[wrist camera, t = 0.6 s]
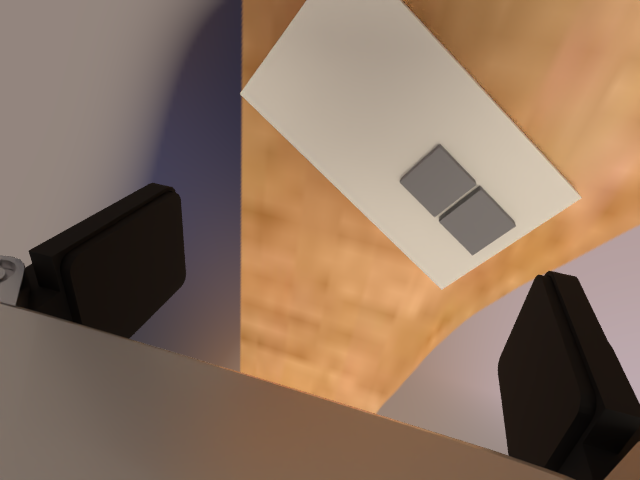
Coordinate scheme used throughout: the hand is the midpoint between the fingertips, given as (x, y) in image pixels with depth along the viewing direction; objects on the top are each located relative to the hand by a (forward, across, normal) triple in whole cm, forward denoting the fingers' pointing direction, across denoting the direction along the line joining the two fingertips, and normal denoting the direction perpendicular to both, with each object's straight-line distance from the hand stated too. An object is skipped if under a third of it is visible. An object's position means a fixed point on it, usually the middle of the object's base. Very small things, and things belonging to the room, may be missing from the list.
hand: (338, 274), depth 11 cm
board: (+25, 0, +3) cm, 25 cm away
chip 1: (+23, -3, +5) cm, 24 cm away
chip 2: (+23, -7, +8) cm, 25 cm away
